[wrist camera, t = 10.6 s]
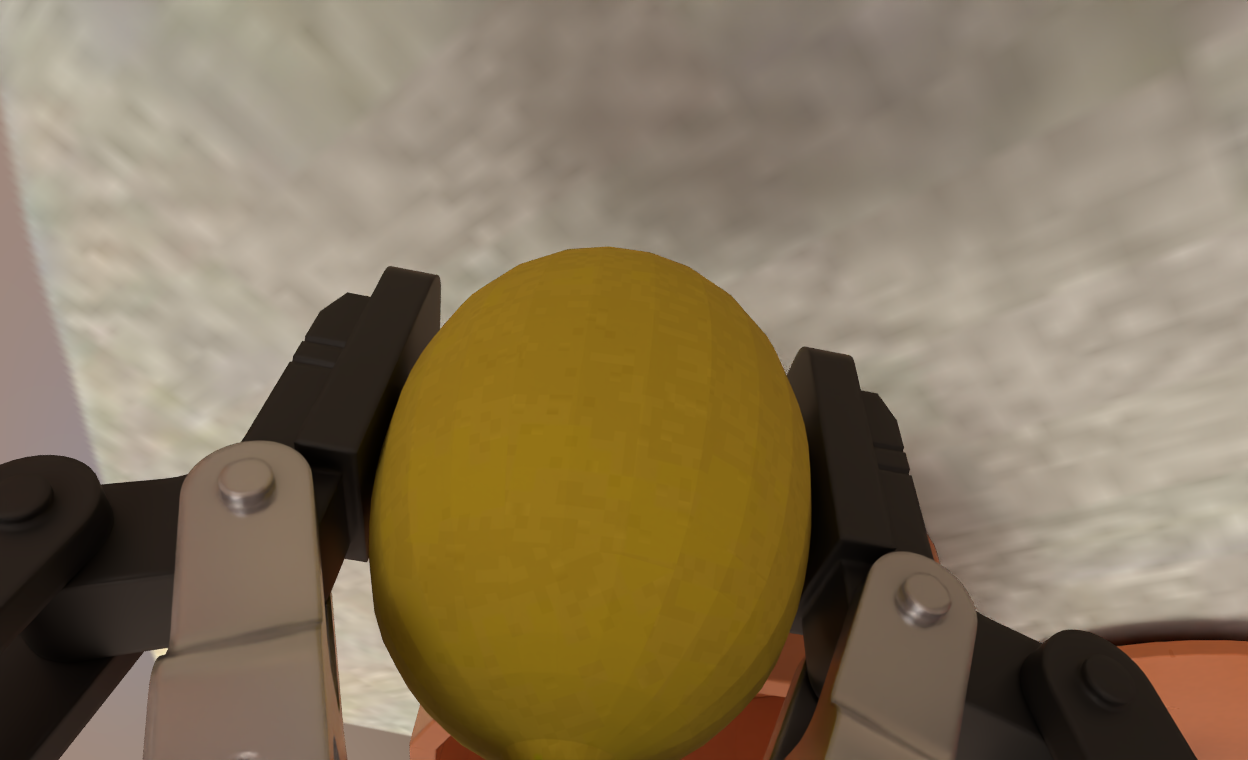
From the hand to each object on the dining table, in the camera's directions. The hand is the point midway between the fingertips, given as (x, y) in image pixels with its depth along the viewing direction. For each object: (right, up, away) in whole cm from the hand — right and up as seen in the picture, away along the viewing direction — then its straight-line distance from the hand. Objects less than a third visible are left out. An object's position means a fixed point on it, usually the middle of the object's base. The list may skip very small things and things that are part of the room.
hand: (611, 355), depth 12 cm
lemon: (0, +1, +1) cm, 2 cm away
